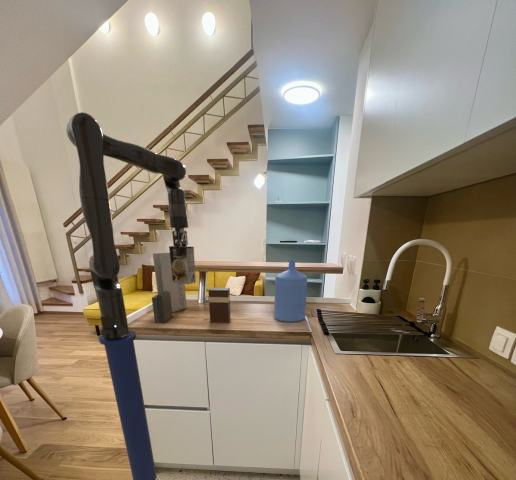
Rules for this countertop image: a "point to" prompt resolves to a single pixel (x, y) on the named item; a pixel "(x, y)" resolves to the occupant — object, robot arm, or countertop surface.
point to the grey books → (162, 307)
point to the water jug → (290, 295)
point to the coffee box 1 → (183, 265)
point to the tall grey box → (168, 281)
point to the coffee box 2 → (219, 304)
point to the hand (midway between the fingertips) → (182, 255)
